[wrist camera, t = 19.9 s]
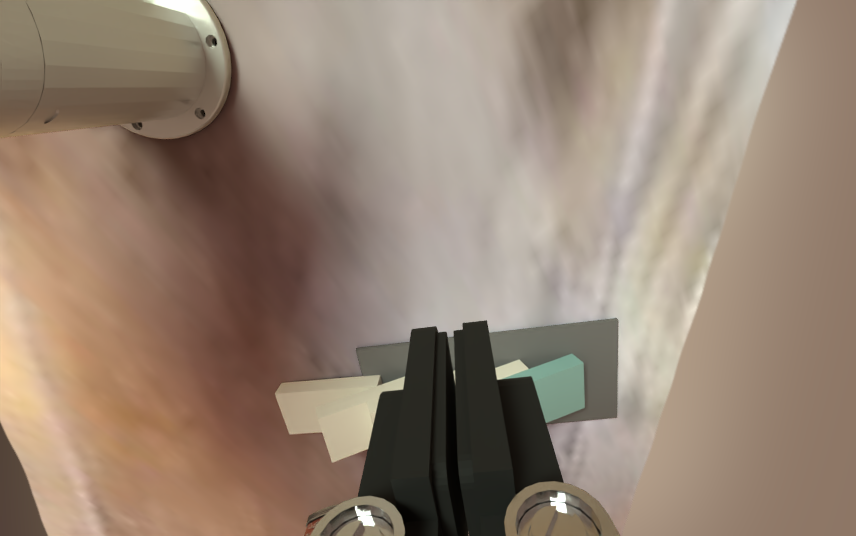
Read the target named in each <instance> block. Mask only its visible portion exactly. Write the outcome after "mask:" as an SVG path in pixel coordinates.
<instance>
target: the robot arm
mask: <svg viewBox="0 0 856 536" xmlns="http://www.w3.org/2000/svg"><path fill="white" fill-rule="evenodd" d="M215 39H216V40H217V45H215V43H214V41H215ZM230 82H231V59H230V52H229V48H228V44H227V40H226V36H225V34H224V32H223V29H222V27H221V25H220V22H219V20H218V18H217V17H216V15H215V14H214V12H213V10H212V9H211V7H210V6H209V4H208V3H207V1H206V0H0V138H7V137H16V136H24V135H33V134H42V133H50V132H59V131H68V130H76V129H85V128H94V127H102V126H111V125H120V126H122V127H124V128H126V129H128V130H129V131H131V132H133V133H136V134H139V135H142V136H146V137H150V138H157V139H174V138H180V137H185V136H189V135H191V134H194V133H196V132H199V131H201V130H202V129H203V128H205V127H206V126H208V125H209V124H210V123H211V122H212V121H213V120H214V119H215V118H216V117H217V115H218V114H219V113H220V111H221V109H222V107H223V105H224V104H225V102H226V99H227V96H228V92H229V89H230ZM203 111H205V115H204V114H203ZM454 357H455V379H454V373H453V367H452V361H451V355H450V349H449V343H448V337H447V332H439V333H438V331H437V327H436V326H435V327H427V328H418V329H412V331H411V337H410V344H409V351H408V358H407V365H406V372H405V380H404V387H403V390H393V391H384V392H382V393H381V394H380V397H379V400H378V405H377V410H376V414H375V419H374V424H373V428H372V433H371V438H370V442H369V447H368V452H367V456H366V461H365V465H364V470H363V475H362V479H361V484H360V489H359V493H358V497H356V498H353V499H350V500H347V501H344V502H342V503H341V504H339V505H337V506H336V507H334V508H333V509H331V510H330V511H329V512H328V513H327V514H326V515H325V516H324V517H323V518H322V519H321V520H320V521H319V522H318V523H317V525H316V527H315V528H314V530H313V532H312V533H311V535H310V536H468V531H469V536H620V535H619V533H618V531H617V529H616V527H615V525H614V524H613V522H612V520H611V518H610V516H609V515H608V513H607V512H606V511H605V509H604V508H603V507H602V505H601V504H600V503H599V501H597V500H596V499H595V498H593V497H592V496H591V495H590V494H588V493H587V492H586V491H584V490H582V489H580V488H578V487H575V486H573V485H571V484H567V483H564V482H563V479H562V475H561V472H560V469H559V465H558V462H557V459H556V455H555V452H554V448H553V445H552V442H551V438H550V435H549V432H548V428H547V425H546V421H545V418H544V415H543V411H542V408H541V405H540V401H539V398H538V395H537V391H536V388H535V384H534V381H533V379H532V377H531V376H528V377H518V378H509V379H499V380H497V376H496V370H495V365H494V359H493V353H492V347H491V342H490V336H489V330H488V324H487V320H486V321H478V322H469V323H463V330H457V331H454Z"/></svg>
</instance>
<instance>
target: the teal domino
mask: <svg viewBox="0 0 856 536" xmlns="http://www.w3.org/2000/svg"><path fill="white" fill-rule="evenodd" d="M528 376H531V377H532V379H533V381H534V384H535V388H536V391H537V395H538V398H539V401H540V405H541V408H542V411H543V415H544V418H545V421H546V423H548V422H550V421H553V420H555V419H558V418H560V417H563V416H565V415H568V414H570V413H573V412H575V411H578V410H580V409H583V408H585V397H584V363H583V362H582V361H581V360H580V359H578V358H577V357H576V356H575V355H573V354H569V355H567V356H564V357H561V358H558V359H556V360H553V361H550V362H547V363H544V364H542V365H539V366H536V367H533V368H531V369H528V370H525V371H522V372H520V373H517V374H514V375H511V376H509V377H506V378H503V379H509V378H518V377H528Z"/></svg>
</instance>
